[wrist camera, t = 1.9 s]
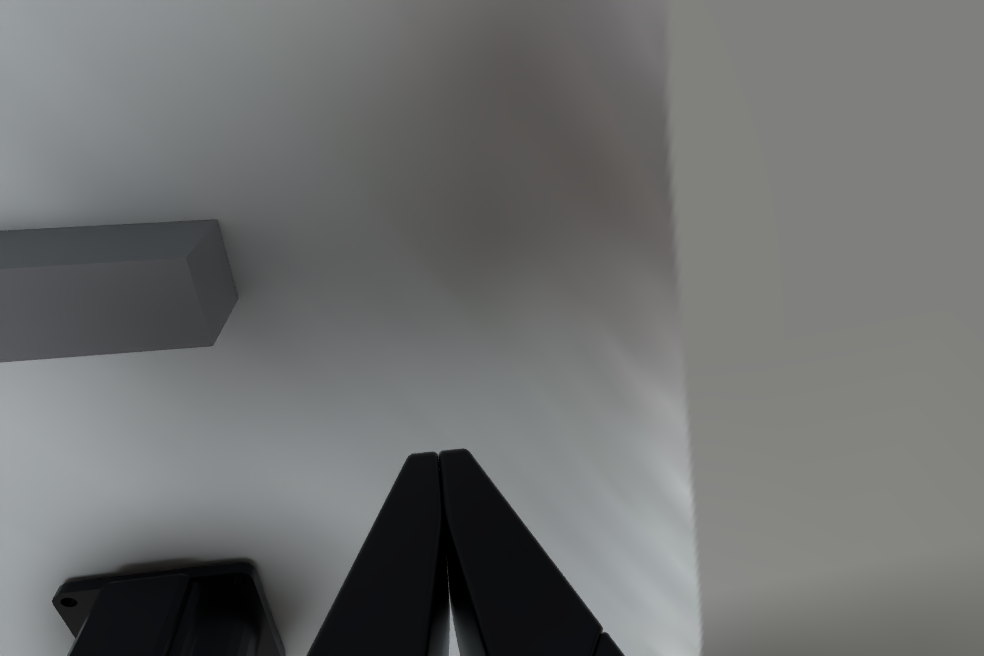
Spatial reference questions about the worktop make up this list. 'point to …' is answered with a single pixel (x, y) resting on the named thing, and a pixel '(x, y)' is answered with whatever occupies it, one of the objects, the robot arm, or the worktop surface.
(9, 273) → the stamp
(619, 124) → the worktop surface
